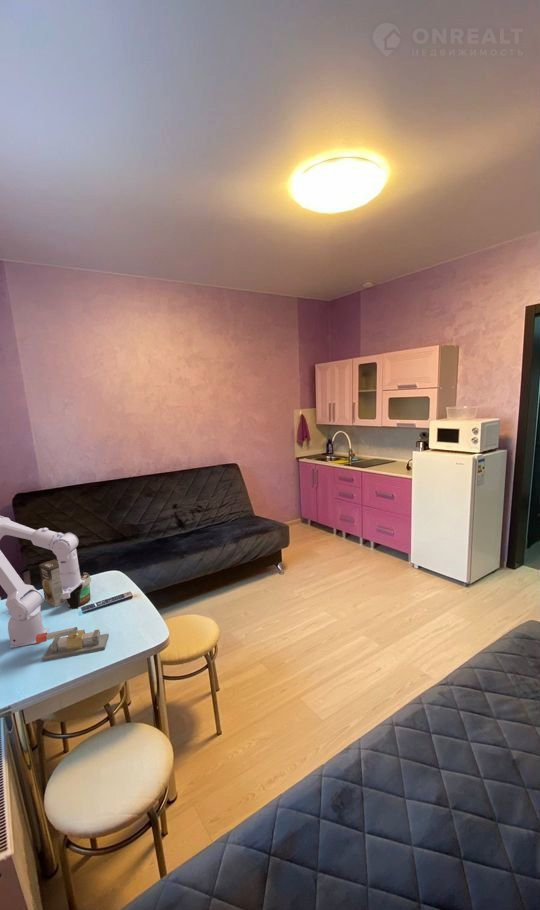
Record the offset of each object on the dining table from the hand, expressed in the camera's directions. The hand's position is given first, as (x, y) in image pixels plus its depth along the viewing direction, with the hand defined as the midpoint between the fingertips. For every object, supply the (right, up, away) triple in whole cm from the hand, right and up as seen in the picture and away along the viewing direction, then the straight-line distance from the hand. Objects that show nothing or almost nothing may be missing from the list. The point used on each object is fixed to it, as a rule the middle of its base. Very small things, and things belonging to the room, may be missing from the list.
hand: (75, 608), depth 130 cm
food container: (-9, -8, +24) cm, 27 cm away
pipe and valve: (+3, -11, -5) cm, 13 cm away
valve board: (+3, -11, -5) cm, 13 cm away
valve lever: (-2, -7, -7) cm, 10 cm away
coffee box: (-21, -8, +26) cm, 34 cm away
